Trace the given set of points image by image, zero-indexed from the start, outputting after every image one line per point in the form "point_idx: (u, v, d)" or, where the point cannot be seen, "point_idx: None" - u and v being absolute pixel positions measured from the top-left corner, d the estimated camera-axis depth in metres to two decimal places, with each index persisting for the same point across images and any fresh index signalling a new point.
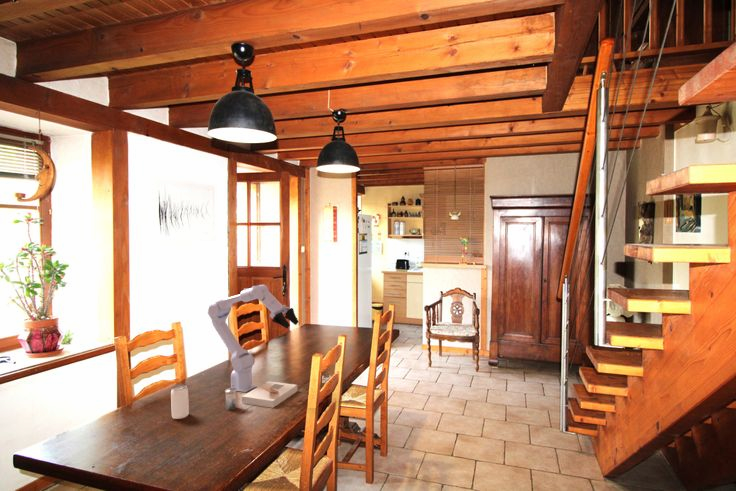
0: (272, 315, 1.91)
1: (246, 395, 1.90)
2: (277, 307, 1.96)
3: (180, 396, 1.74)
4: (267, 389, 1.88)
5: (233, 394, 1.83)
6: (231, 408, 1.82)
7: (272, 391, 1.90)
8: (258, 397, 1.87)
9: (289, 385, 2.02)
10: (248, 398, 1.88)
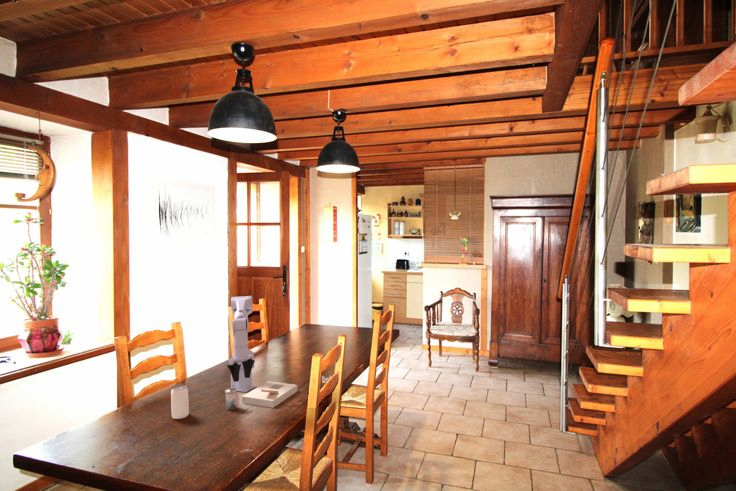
0: (230, 362, 1.76)
1: (246, 395, 1.90)
2: (241, 355, 1.81)
3: (180, 396, 1.74)
4: None
5: (233, 394, 1.83)
6: (231, 408, 1.82)
7: (272, 392, 1.90)
8: (258, 397, 1.87)
9: (289, 385, 2.02)
10: (248, 398, 1.88)
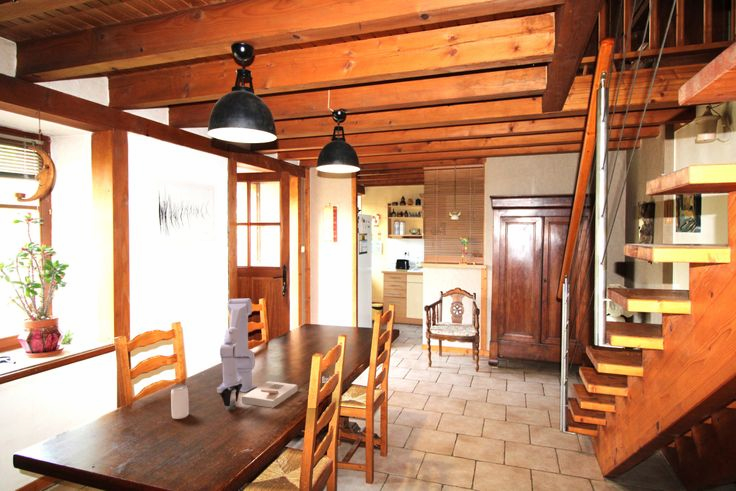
0: (219, 391, 1.77)
1: (246, 395, 1.90)
2: (230, 381, 1.81)
3: (180, 396, 1.74)
4: None
5: (233, 394, 1.83)
6: (231, 408, 1.82)
7: (272, 392, 1.90)
8: (258, 397, 1.87)
9: (289, 385, 2.02)
10: (248, 398, 1.88)
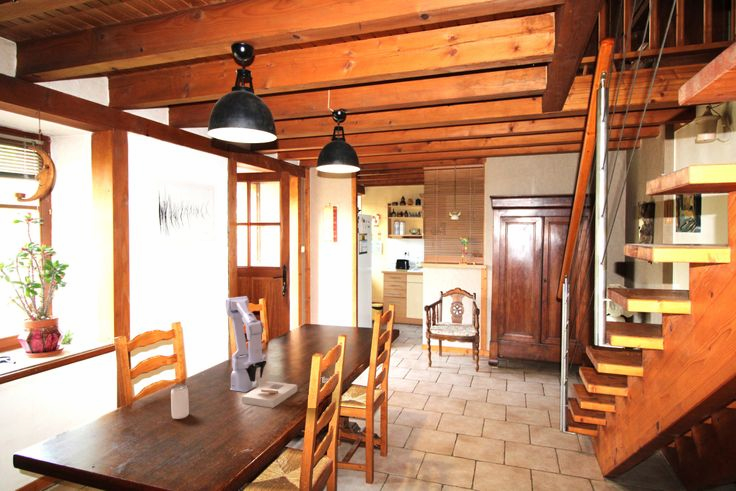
0: (245, 366, 1.86)
1: (246, 395, 1.90)
2: (255, 358, 1.90)
3: (180, 396, 1.74)
4: None
5: (258, 371, 1.92)
6: (256, 384, 1.91)
7: (272, 392, 1.90)
8: (258, 397, 1.87)
9: (289, 385, 2.02)
10: (248, 398, 1.88)
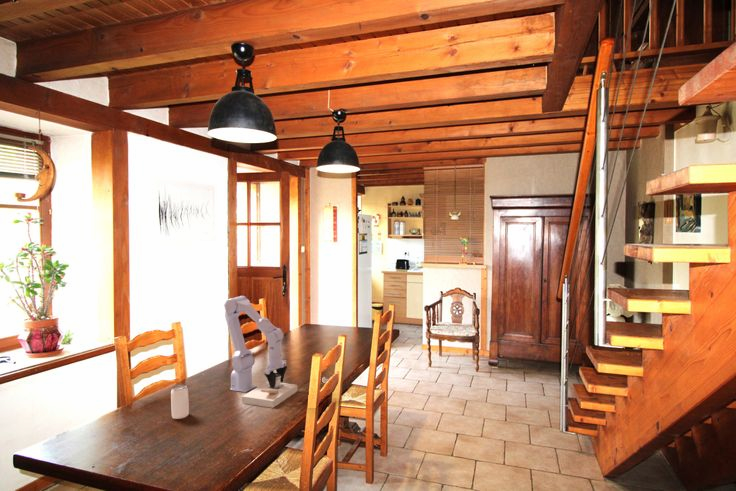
0: (267, 372, 1.93)
1: (246, 395, 1.90)
2: (276, 364, 1.97)
3: (180, 396, 1.74)
4: None
5: (279, 380, 1.99)
6: None
7: (272, 392, 1.90)
8: (258, 397, 1.87)
9: (289, 385, 2.02)
10: (248, 398, 1.88)
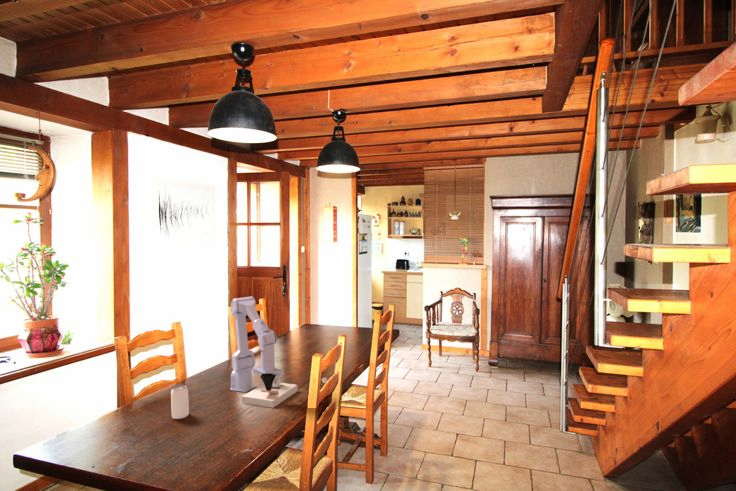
0: None
1: (246, 395, 1.90)
2: (261, 367, 1.88)
3: (180, 396, 1.74)
4: None
5: (279, 380, 1.99)
6: None
7: (272, 392, 1.90)
8: (258, 397, 1.87)
9: (289, 385, 2.02)
10: (248, 398, 1.88)
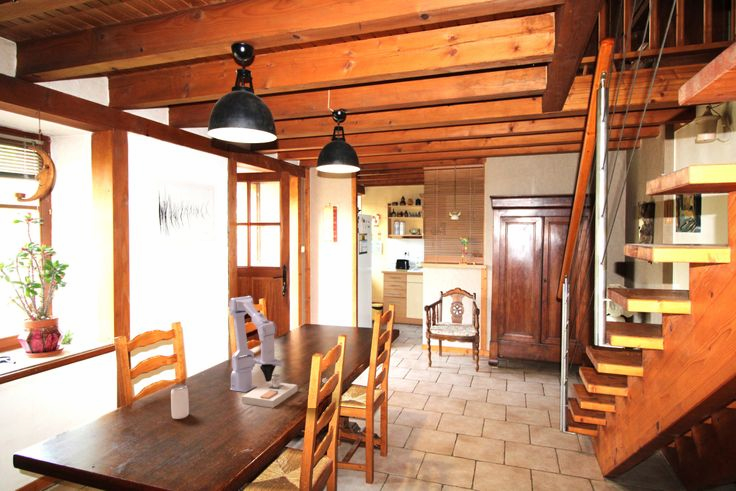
0: None
1: (246, 395, 1.90)
2: (261, 358, 1.88)
3: (180, 396, 1.74)
4: None
5: (279, 380, 1.99)
6: None
7: None
8: (258, 397, 1.87)
9: (289, 385, 2.02)
10: (248, 398, 1.88)
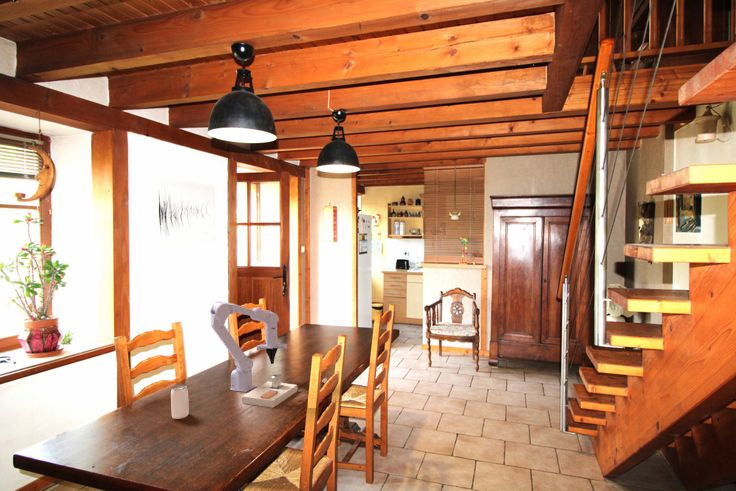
0: None
1: (246, 395, 1.90)
2: (266, 344, 2.13)
3: (180, 396, 1.74)
4: None
5: (279, 380, 1.99)
6: None
7: None
8: (258, 397, 1.87)
9: (289, 385, 2.02)
10: (248, 398, 1.88)
